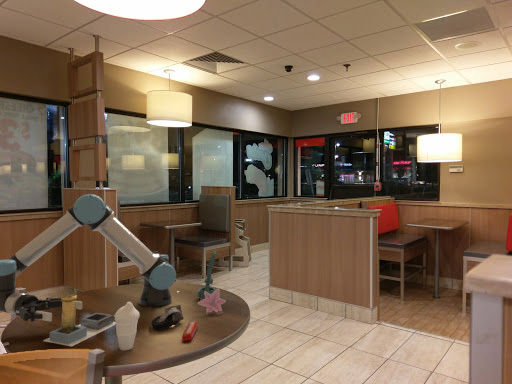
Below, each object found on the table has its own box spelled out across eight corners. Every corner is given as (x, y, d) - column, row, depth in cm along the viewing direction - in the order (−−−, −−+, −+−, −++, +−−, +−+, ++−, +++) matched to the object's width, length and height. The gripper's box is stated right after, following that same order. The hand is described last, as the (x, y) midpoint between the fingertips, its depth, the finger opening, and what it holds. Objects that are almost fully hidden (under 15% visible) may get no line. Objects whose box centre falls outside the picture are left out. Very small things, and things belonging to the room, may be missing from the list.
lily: (193, 316, 161) (197, 300, 157) (202, 298, 172) (206, 283, 168) (218, 325, 160) (222, 310, 156) (226, 307, 171) (230, 292, 167)
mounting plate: (93, 320, 150) (93, 318, 150) (119, 325, 146) (119, 322, 146) (42, 343, 127) (42, 340, 127) (71, 349, 123) (71, 346, 123)
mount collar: (96, 319, 149) (96, 312, 149) (113, 322, 146) (113, 315, 146) (80, 326, 141) (80, 319, 141) (98, 329, 138) (98, 322, 138)
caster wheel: (152, 337, 141) (157, 324, 150) (180, 331, 141) (183, 318, 151) (148, 322, 140) (153, 309, 149) (177, 315, 140) (180, 304, 150)
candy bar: (189, 326, 146) (189, 319, 146) (198, 327, 146) (198, 319, 146) (180, 343, 130) (181, 335, 130) (191, 343, 130) (191, 335, 130)
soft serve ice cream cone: (107, 350, 123) (108, 303, 123) (124, 341, 131) (125, 296, 131) (127, 355, 120) (128, 306, 120) (144, 345, 128) (144, 299, 128)
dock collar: (68, 332, 135) (68, 324, 135) (86, 335, 133) (87, 327, 133) (49, 340, 127) (49, 332, 127) (68, 344, 125) (68, 335, 125)
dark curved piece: (207, 308, 174) (226, 259, 175) (188, 299, 176) (207, 250, 177) (215, 302, 188) (232, 257, 189) (197, 294, 190) (214, 249, 191)
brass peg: (78, 334, 133) (78, 293, 133) (74, 340, 128) (75, 297, 128) (62, 335, 132) (63, 294, 132) (58, 341, 127) (58, 298, 127)
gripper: (50, 304, 148) (92, 310, 142) (-11, 325, 125) (36, 334, 118) (50, 286, 148) (92, 291, 142) (-11, 303, 125) (36, 311, 118)
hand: (67, 311), depth 130 cm, fingers open, 13 cm apart
